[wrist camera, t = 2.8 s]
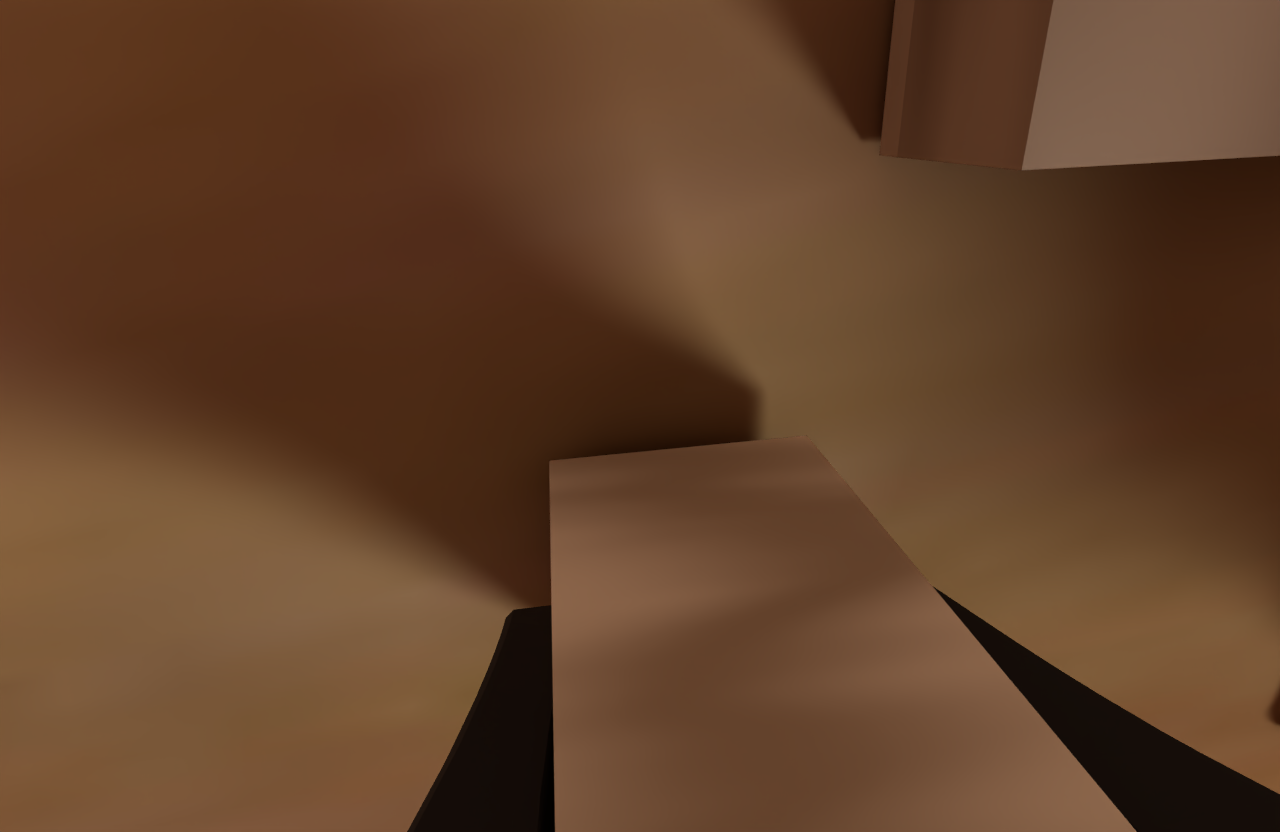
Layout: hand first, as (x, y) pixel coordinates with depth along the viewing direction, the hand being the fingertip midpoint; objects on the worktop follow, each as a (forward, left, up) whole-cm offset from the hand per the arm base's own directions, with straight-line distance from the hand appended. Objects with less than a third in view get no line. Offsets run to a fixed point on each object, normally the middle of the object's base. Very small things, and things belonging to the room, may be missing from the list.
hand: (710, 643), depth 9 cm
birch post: (0, 0, -2) cm, 2 cm away
